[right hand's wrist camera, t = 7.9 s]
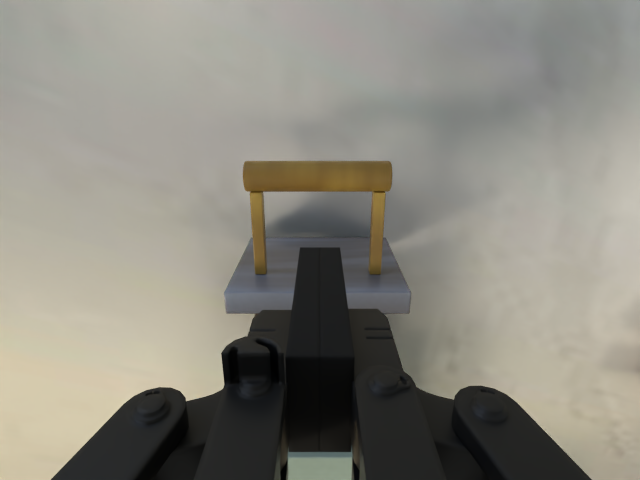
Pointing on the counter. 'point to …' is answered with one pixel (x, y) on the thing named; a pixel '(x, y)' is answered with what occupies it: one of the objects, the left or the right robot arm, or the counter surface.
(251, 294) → the drawer
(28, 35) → the counter surface
